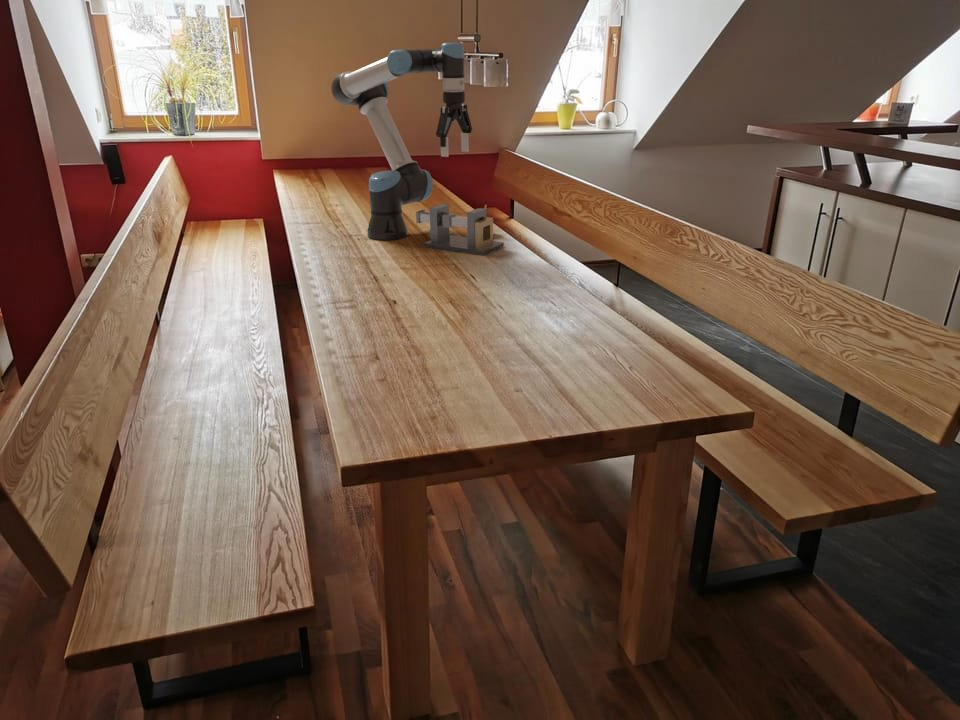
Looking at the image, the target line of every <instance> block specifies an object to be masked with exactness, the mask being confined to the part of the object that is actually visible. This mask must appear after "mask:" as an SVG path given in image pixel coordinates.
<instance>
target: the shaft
mask: <svg viewBox="0 0 960 720" xmlns="http://www.w3.org/2000/svg"><path fill="white" fill-rule="evenodd" d="M477 221H478V219H477ZM415 222H416V224H420V223H426V224H430V212H427V211H425V209H421V210H418V211H416V212H415ZM440 224H442V227H446V228H449V229H450V228H453V227H460V228H466V229H467V216H461V215H460V216H459V215H457V213H455V212H449V213H446V214H440Z"/></svg>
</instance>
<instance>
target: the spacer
mask: <svg viewBox="0 0 960 720" xmlns="http://www.w3.org/2000/svg"><path fill="white" fill-rule="evenodd" d="M487 217H488V218H485V219H482V220H480V221H477V222H475V248H479V249H481V248H483V247H485V246H488V245H490V244H492V243H493V241H494V217H489V216H487ZM483 227H485V238H484V239H483Z"/></svg>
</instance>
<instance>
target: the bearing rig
mask: <svg viewBox="0 0 960 720" xmlns="http://www.w3.org/2000/svg"><path fill="white" fill-rule="evenodd" d="M429 213H430V223H429V228H430V240H428V241H425V242H423V248H429V249H434V250H435V249H436V250H444V251H449V252H456V253H463V254H464V253H465V254H469V255H478V256H487V255H489V254H491V253H493V252H495V251H497V250H500V249H502V248H504V247H505V242H502V241H495V240H493V243H492V244H490V245H488V246H485V247H483V248H481V249H479V248H475V222H477V219H478V221H480V220H482V219H485V218H486V216H487V208H486V209H485V208H480V207H478V208H475V209H473V210H471V211H468V212H466V217H467V228H466V229H467V230H466V231H467V235H466V236H458V235H450V228H446V227H442V224H440V214H446V213H450V205H449V204H445V203H441V204H438V205H435V206H432V207H429ZM484 238H485V227H483V239H484ZM503 246H504V247H503ZM501 247H502V248H501Z"/></svg>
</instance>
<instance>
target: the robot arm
mask: <svg viewBox="0 0 960 720" xmlns="http://www.w3.org/2000/svg"><path fill="white" fill-rule="evenodd" d="M422 73H423V74H426V73H442V91H443V93H442V102H443V103H444V104H446V105H445V106H441V107H440V113H439V114H440V115H439V119H438V124H437V127H436V128H437V129H436V131H435V132H436V133H435V134H436V136H437V137H438V138H440V139H439V143H440V157H443V158H444V157H445V158H448V157H449V155H450V154H449V150H450V149H449V137H448V134H449V131H450V129H451V126H452V123H453V122H454V121H455V120H456V122H457V124H458V126H459V128H460V130H461V133H460V150H461V151H460V152H461V153H462V152H463V153H469V151H470V150H469V146H470V145H469V138H470V137H469V134H471V133H472V130H473V127H472V123H471V119H470V115H469V112H468V104H464V103H465V102H466V99H465V97H466V96H465V95H466V94H465V91H464V90H465V82H466V81H465V50H464V44H463V43H461V42H443V43H442V44H441V49H439V48H438V49H437V48H424V49H423V48H422V49H420V48H419V49H417V48H415V49H401V48H399V49H393V50H391V51H389V54H388V55H387V56H386V57H383V58H381V59H379V60H376V61H374V62H372V63H370V64H368V65H365V66H363V67H360V68H359V69H357V70H354V71H350V70H348V71H344V72H342V73H339V74H337V75H336V76H335V77H334V78H333V79H332V81H331V85H330V91H331V95H332V97H333V98H334V99H335V101H337V102H338V103H339V104H340V105H344V106H349V107H351V106H352V107H353V106H357V108H358V109H359V112H360V114H362V115H364V116H366V117H367V120H368V122H369V123H370V126H371V128H372V131H373V133H374V134H375V137H376V138H377V140H378V143H379V145H380V147H381V149H382V151H383V153H384V156H385V158H386V160H387V162H388V164H389V166H390V168H391V170H389V169H388V170H382V171H378V172H375V173H373V174H372V175H370V177H369V179H368V191H369V207H370V219H369V223H368V227H367V229H366V230H367V231H366V232H367V237H368V238H369V239H372V240H380V241H384V240H385V241H386V240H387V241H388V240H389V241H391V240H398V239H402V238H405V237H407V236H408V227H407V225H406V222H405V220H404V216H403V207H402V206H403V205H407V204H414V203H420V202H422V201H425V200H427V199H428V198H429V197H430V196H431V195H432V191H433V185H434V184H433V179H432V178H433V177H432V176H431V173H430V172H429V171H427V170H426V169H422V168H421V167H420V165H419V162H418V161H416V160H413V159H412V157H411V155H410V153H409V151H408V149H407V146H406V144H405V143H404V140H403V138H402V136H401V133H400V131H399V129H398V128H397V125H396V123H395V121H394V119H393V116H392V115H391V112H390V110H389V108H388V107H387V106H388V102H389V100H388V97H389V91H388V90H389V85H388V82H390V81H393V80H395V79H397V78H400V77H401V78H402V77H404V76H406V75H409V74H422Z"/></svg>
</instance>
